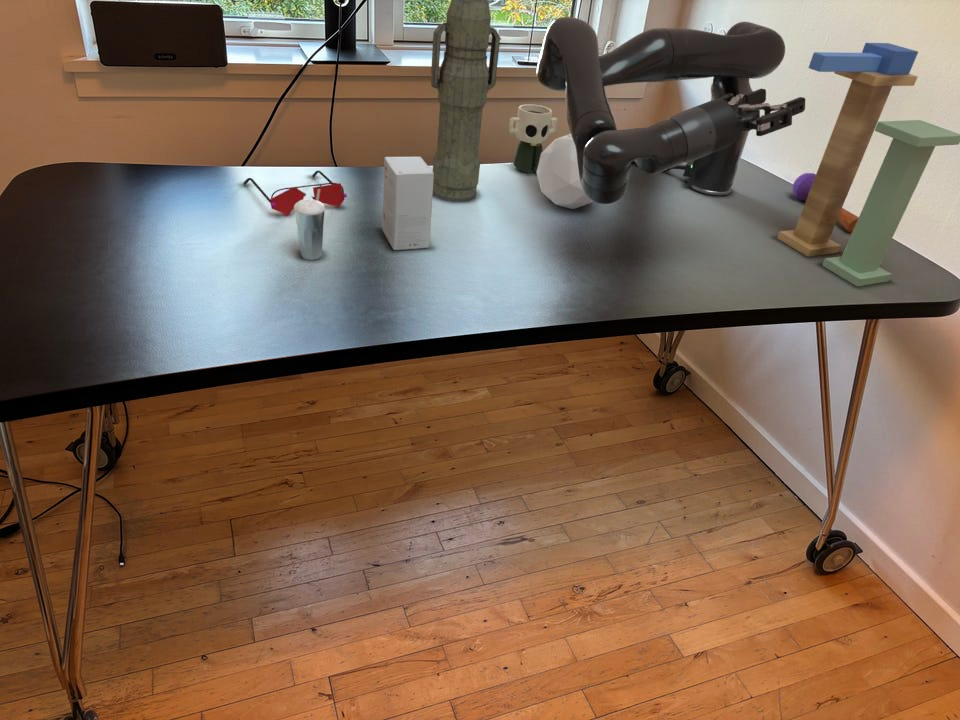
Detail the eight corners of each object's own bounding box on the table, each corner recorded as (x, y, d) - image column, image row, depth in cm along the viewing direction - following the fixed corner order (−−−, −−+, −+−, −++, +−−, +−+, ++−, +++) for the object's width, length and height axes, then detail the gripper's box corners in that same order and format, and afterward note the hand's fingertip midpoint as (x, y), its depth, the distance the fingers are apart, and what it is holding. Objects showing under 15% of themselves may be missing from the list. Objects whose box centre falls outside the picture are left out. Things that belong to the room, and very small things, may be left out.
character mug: (509, 175, 150) (517, 113, 143) (498, 164, 156) (505, 103, 148) (556, 174, 154) (566, 114, 146) (543, 163, 159) (552, 104, 152)
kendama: (846, 215, 140) (790, 170, 155) (838, 241, 144) (784, 195, 159) (873, 210, 141) (815, 166, 155) (864, 235, 145) (809, 190, 159)
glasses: (272, 219, 121) (270, 191, 119) (243, 184, 133) (240, 158, 130) (348, 209, 128) (348, 182, 125) (314, 176, 139) (313, 151, 136)
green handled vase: (491, 199, 139) (513, 2, 119) (435, 204, 134) (449, -1, 114) (471, 182, 145) (490, -8, 125) (418, 187, 140) (428, -10, 120)
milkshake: (333, 251, 114) (332, 192, 109) (316, 264, 110) (314, 203, 104) (308, 244, 115) (306, 185, 110) (291, 257, 111) (287, 197, 105)
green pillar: (852, 287, 122) (920, 137, 108) (817, 266, 128) (878, 121, 113) (892, 280, 126) (963, 135, 111) (856, 260, 132) (919, 119, 117)
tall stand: (803, 257, 131) (875, 76, 113) (773, 238, 137) (837, 63, 118) (842, 252, 135) (918, 76, 116) (811, 234, 140) (878, 64, 122)
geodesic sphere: (628, 171, 142) (596, 107, 136) (628, 197, 130) (593, 128, 125) (562, 204, 148) (529, 144, 143) (556, 232, 137) (519, 167, 131)
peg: (828, 74, 110) (837, 50, 108) (799, 65, 114) (807, 41, 112) (908, 74, 117) (918, 51, 115) (879, 65, 121) (888, 43, 119)
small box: (430, 248, 118) (435, 173, 111) (392, 251, 116) (395, 174, 109) (417, 228, 124) (420, 155, 117) (381, 230, 122) (383, 156, 115)
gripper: (728, 116, 101) (819, 81, 104) (668, 100, 113) (752, 68, 116) (729, 166, 105) (816, 131, 109) (672, 145, 117) (752, 114, 120)
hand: (783, 99), depth 112 cm, fingers open, 8 cm apart
